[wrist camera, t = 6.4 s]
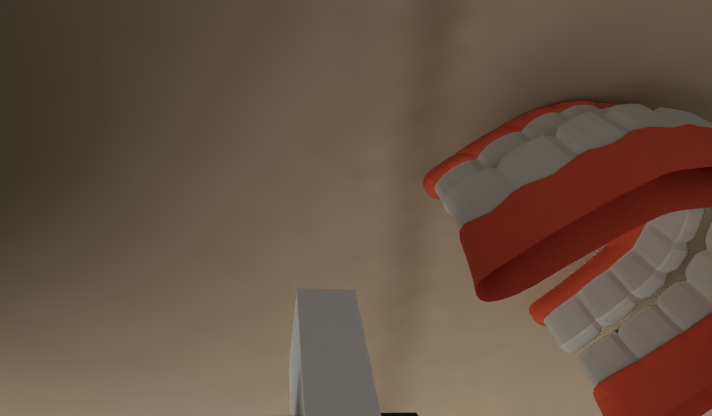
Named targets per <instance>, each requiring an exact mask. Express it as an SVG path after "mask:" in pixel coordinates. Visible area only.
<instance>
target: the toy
mask: <svg viewBox="0 0 712 416" xmlns="http://www.w3.org/2000/svg"><path fill="white" fill-rule="evenodd" d="M423 182H424V183H423V185H424V188H425V190H426V191H427V193H428V194H429V195H430V196H431V197H432V198H435V199H440V200H441V202H442V204H443V206H444V208H445V210H446V211H447V212H448V214H450V215H451V216H452V217H453V218H454V220H455V221H456V223H457V224H458V225H459V227H460V228H461V229H460V241H461V243H462V246H463V249H464V252H465V255H466V258H467V261H468V264H469V268H470V271H471V274H472V278H473V282H474V286H475V291H476V295H477V296H478V298H479V299H480V300H483V301H486V302H491V301H497V300H501V299H505V298H508V297H511V296H513V295H516V294H518V293H520V292H522V291H524V290H526V289H528V288H530V287H532V286H534V285H536V284H537V283H539V282H541V281H542V280H544V279H546V278H547V277H549V276H551V275H552V274H554V273H556V272H557V271H559V270H561V269H562V268H564V267H566V266H567V265H569V264H571V263H573V262H575V261H576V260H578V259H580V258H582V257H583V256H585V255H587V254H589V253H591V252H592V251H594V250H596V249H598V248H599V247H601V246H603V245H605V244H607V243H608V244H607V245H606V247H605V248H603V249H602V250H601V251H600V252H599V253H598V254H596V255H595V256H594V257H593V258H592V259H591V260H590V261H588V262H587V263H586V264H585V265H584V266H582V267H581V268H580V269H578V270H577V271H576V272H574V273H573V274H572V275H571V276H569V277H568V278H567V279H565V280H564V281H563V282H562V283H560V284H559V285H558V286H556V287H555V288H554V289H552V290H551V291H549V292H548V293H547V294H545V295H544V296H542V297H541V298H540V299H538V300H537V301H536V302H534V303H533V304H532V305H531V306H530V308H529V313H530V314H531V316H532V317H533V319H534V320H535V321H536V322H537V323H539V324H540V325H544V326H547V327H548V329H549V330H550V332H551V333H552V335H553V337H554V338H555V340H556V341H557V343H558V344H559V346H560V347H561V349H563V350H564V351H565V352H567V353H573V352H575V351H577V350H579V349H580V348H582V347H583V346H585V345H586V344H588V343H589V342H591V341H592V340H593V339H595V338H596V337H597V336H598V335H599V334H600V332H601V329H602V327H610V326H612V325H614V324H616V323H617V322H618V321H620V320H621V319H622V318H624V317H625V316H626V315H627V314H629V313H630V312H631V311H632V310H633V309H634V308H635V307H636V306H637V302H638V298H648V297H650V296H651V295H653V294H654V293H655V292H656V291H657V290H658V289H660V288H661V287H662V286H663V285H664V283H665V282H666V277H667V273H668V272H671V271H674V270H676V269H677V268H678V267H679V266H680V265H681V263H682V262H683V260H684V259H685V257H686V256H687V253H688V246H687V242H688V241H690V240H691V239H693V238H694V237H695V235H696V234H697V232H698V229H699V227H700V224H701V222H702V219H703V216H704V212H705V209H704V208H707V207H712V123H711V122H709V121H707V120H705V119H703V118H701V117H699V116H697V115H695V114H692V113H689V112H686V111H681V110H676V109H671V108H665V107H659V108H657V109H655V110H654V111H653V110H651V109H649V108H647V107H645V106H643V105H642V104H622V105H620V104H614V103H594V102H592V101H585V100H577V101H568V102H562V103H558V104H554V105H551V106H548V107H542V108H538V109H535V110H532V111H530V112H527V113H525V114H522V115H520V116H518V117H516V118H514V119H513V120H511V121H509V122H507V123H505V124H503V125H502V126H500V128H499V129H497V130H494V131H492V132H490V133H488V134H486V135H484V136H483V137H481V138H479V139H478V140H476V141H474V142H473V143H471V144H470V145H468V146H466V147H465V148H463V149H462V150H460V151H459V152H458V153H457V154H456V155H455V156H454V157H451V158H449V159H447V160H445V161H444V162H442V163H441V164H439V165H438V166H436V167H435V168H434V169H432V170H431V171H430V172H429V173H428V174H427V175H426V176H425V178H424V180H423ZM705 242H706V246H707V249H706V250H702V251H699V252H698V253H697V254H696V255H695V256H694V257H693V259H692V260H691V262H690V263H689V265H688V266H687V268H686V271H685V274H686V280H685V281H678V282H676V283H674V284H672V285H671V286H670V287H668V288H667V289H666V290H665V291H664V292H662V293H661V294H660V295H659V297H658V298H657V305H648V306H646V307H644V308H642V309H641V310H639V311H638V312H637V313H635V314H634V315H633V316H632V317H630V318H629V319H628V320H626V321H625V322H624V323H623V324H622V325H621V326H620V328H619V331H618V335H607V336H605V337H603V338H601V339H600V340H598V341H597V342H596V343H594V344H593V345H591V346H590V347H588V348H587V349H586V350H584V351H583V352H582V353H581V354H580V355H579V357H578V365H579V367H580V369H581V370H582V372H583V373H584V375H585V376H586V377H587V379H588V380H589V382H590V383H591V385H592V386H593V387H594V392H593V395H594V397H595V400H596V402H597V404H598V406H599V408H600V410H601V412H602V414H603V416H701V415H703V414H704V413H706V412H707V411H709V410H710V409H712V222H711V224H710V227H709V229H708V232H707V235H706V239H705Z"/></svg>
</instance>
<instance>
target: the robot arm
mask: <svg viewBox="0 0 712 416" xmlns="http://www.w3.org/2000/svg"><path fill="white" fill-rule="evenodd" d="M289 387H290V416H418V415H417V413H381V412H380V407H379V403H378V398H377V393H376V388H375V384H374V379H373V374H372V369H371V365H370V360H369V355H368V351H367V346H366V341H365V336H364V332H363V327H362V322H361V317H360V313H359V308H358V303H357V298H356V294H355V290H338V289H300V288H297V291H296V301H295V311H294V321H293V331H292V341H291V351H290V361H289Z"/></svg>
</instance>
